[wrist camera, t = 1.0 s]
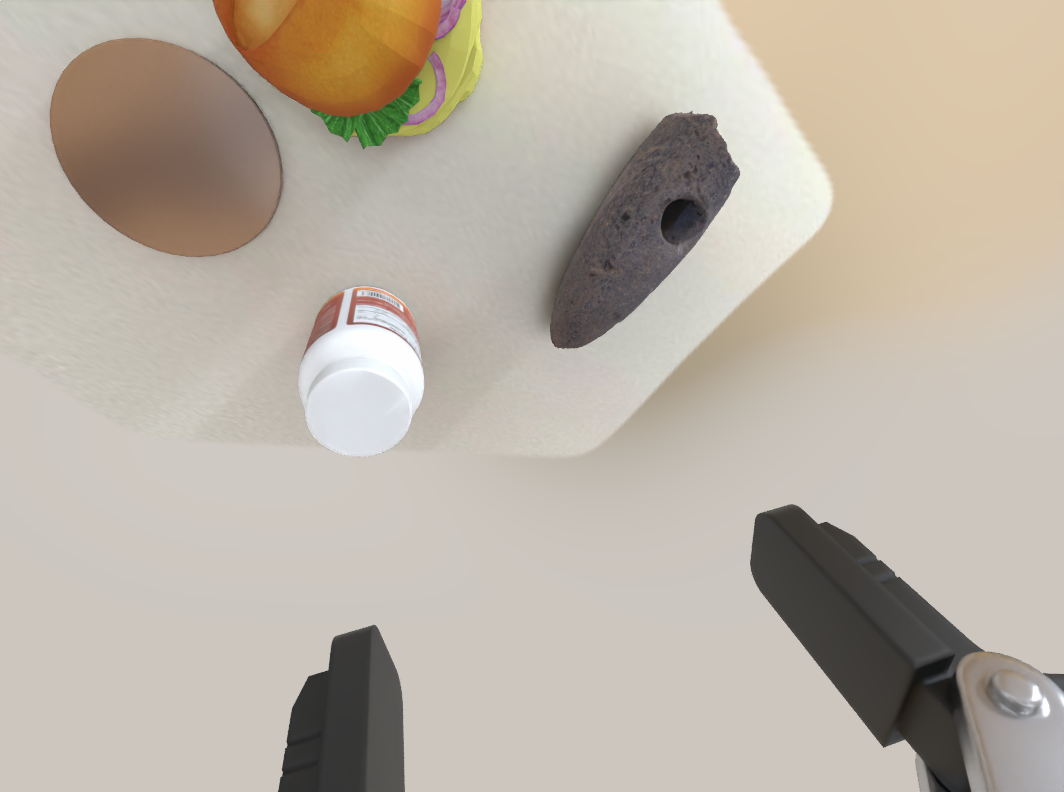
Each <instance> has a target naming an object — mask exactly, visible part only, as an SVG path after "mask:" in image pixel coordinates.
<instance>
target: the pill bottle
mask: <svg viewBox="0 0 1064 792" xmlns="http://www.w3.org/2000/svg"><path fill="white" fill-rule="evenodd" d="M298 388H299V394H300V397H301V400H302V402H303V405H304V407H305V417H306V422H307V425H308V428H309V430H310V431H311V433H312V435H313V436H314V437H315V439H316V440H317V441H318V442H319V443H321V444H322V445H323V446H324V447H326V448H327V449H329V450H331V451H333V452H336V453H338V454H341V455H346V456H352V457H366V456H372V455H377V454H380V453H383V452H385V451H387V450H389V449H390V448H392V447H393V446H395V445H396V444H397V443H398V442H399V441H400V440H401V439H402V438H403V437H404V435H405V434H406V432H407V431H408V428H409V426H410V423H411V418H412V416H413V414H414V413H415V412H416V410H417V408H418V407H419V404H420V402H421V399H422V396H423V391H424V373H423V367H422V360H421V354H420V347H419V340H418V333H417V328H416V324H415V321H414V318H413V316H412V314H411V312H410V311H409V309H408V308H407V307H406V305H405V304H404V303H403V302H402V301H401V300H400V299H398V298H397V297H396V296H394V295H393V294H391V293H389V292H387V291H385V290H382V289H379V288H375V287H369V286H359V287H353V288H349V289H346V290H343V291H341V292H339V293H337V294H336V295H334V296H333V297H331V298H330V299H329V300H328V301H327V302H326V303H325V304H324V306H323V307H322V309H321V310H320V312H319V314H318V316H317V318H316V321H315V324H314V327H313V330H312V333H311V336H310V338H309V341H308V344H307V347H306V350H305V353H304V356H303V358H302V361H301V365H300V369H299V374H298Z"/></svg>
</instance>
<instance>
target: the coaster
mask: <svg viewBox="0 0 1064 792" xmlns="http://www.w3.org/2000/svg"><path fill="white" fill-rule="evenodd" d="M50 128H51V134H52V140H53V144H54V147H55V151H56V154H57V157H58V159H59V161H60V164H61V166H62V168H63V170H64V172H65V174H66V176H67V177H68V179H69V181H70V183H71V184H72V186H73V187H74V188H75V190H76V191H77V192H78V194H79V195H80V197H81V198H82V199H83V200H84V201H85V202H86V203H87V205H88V206H89V207H90V208H91V209H92V210H93V211H94V212H95V213H96V214H97V215H99V216H100V217H101V218H102V219H103V220H104V221H105V222H107V223H108V224H109V225H111V226H112V227H113V228H115V229H116V230H117V231H119V232H121V233H122V234H124V235H126V236H127V237H129V238H130V239H132V240H134V241H136V242H139V243H141V244H143V245H145V246H147V247H150V248H153V249H156V250H158V251H162V252H166V253H170V254H174V255H181V256H190V257H204V256H214V255H219V254H223V253H227V252H230V251H232V250H235V249H237V248H239V247H241V246H243V245H245V244H247V243H248V242H249V241H251V240H252V239H253V238H255V237H256V236H257V235H258V234H259V233H260V232H261V231H262V230H263V229H264V228H265V227H266V225H267V224H268V222H269V221H270V219H271V218H272V216H273V214H274V212H275V210H276V208H277V204H278V201H279V198H280V193H281V186H282V168H281V160H280V155H279V151H278V147H277V144H276V141H275V138H274V136H273V133H272V130H271V129H270V127H269V125H268V123H267V121H266V119H265V117H264V115H263V114H262V112H261V111H260V109H259V108H258V106H257V105H256V103H255V102H254V101H253V100H252V98H251V97H250V96H249V95H248V93H247V92H246V91H245V90H244V89H243V88H242V87H241V86H240V85H239V84H238V83H237V82H236V81H235V80H234V79H233V78H232V77H230V76H229V75H228V74H227V73H225V72H224V71H223V70H222V69H220V68H219V67H217V66H216V65H214V64H213V63H211V62H210V61H208V60H207V59H205V58H203V57H201V56H199V55H197V54H195V53H193V52H191V51H189V50H186V49H184V48H181V47H179V46H176V45H173V44H169V43H165V42H162V41H158V40H151V39H143V38H124V39H118V40H112V41H107V42H104V43H101V44H98V45H95V46H94V47H92V48H90V49H88V50H86V51H84V52H83V53H81V54H80V55H79V56H78V57H77V58H75V59H74V60H73V61H72V62H71V63H70V64H69V65H68V67H67V68H66V69H65V70H64V71H63V73H62V75H61V77H60V78H59V80H58V82H57V84H56V87H55V90H54V93H53V96H52V102H51V108H50Z"/></svg>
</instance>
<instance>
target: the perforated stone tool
mask: <svg viewBox="0 0 1064 792" xmlns="http://www.w3.org/2000/svg"><path fill="white" fill-rule="evenodd" d="M716 128H717V120H716V118H715V117H714V116H712V115H708V114H703V115H702V114H693V113H692V111H691V112H690V113H684V114H683V113H674V114H671V115H668V116H666V117H665V118H663V120H662V121H661V122H660V123H659V124H658V125H657V126H656V128H655V129H654V130H653V131H652V133H651V134H650V135H649V136H648V137H647V138H646V140H645V141H644V142H643V143H642V145H641V146H640V147H639V149H638V150H637V151H636V153H635V154H634V155H633V157H632V158H631V159H630V161H629V162H628V164H627V165H626V166H625V168H624V169H623V171H622V172H621V174H620V175H619V177H618V178H617V180H616V182H615V183H614V185H613V186H612V188H611V189H610V191H609V192H608V194H607V196H606V197H605V199H604V200H603V202H602V204H601V206H600V207H599V209H598V211H597V213H596V214H595V216H594V218H593V220H592V221H591V223H590V225H589V227H588V229H587V231H586V233H585V235H584V237H583V238H582V240H581V243H580V245H579V247H578V249H577V251H576V253H575V255H574V257H573V259H572V261H571V263H570V265H569V267H568V269H567V271H566V273H565V276H564V278H563V280H562V283H561V285H560V288H559V291H558V294H557V297H556V300H555V304H554V308H553V312H552V317H551V324H550V332H551V340H552V343H553V344H554V346H555V347H557V348H562V349H564V348H579V347H582V346H584V345H586V344H588V343H590V342H592V341H593V340H595V339H597V338H598V337H600V336H602V335H603V334H605V333H606V332H607V331H608V330H609V329H611V328H612V327H613V326H614V325H615V324H617V323H619V322H621V321H622V320H624V319H625V318H626V317H627V316H628V315H629V314H630V313H632V312H633V311H634V310H635V309H636V308H637V307H638V306H639V305H640V304H641V303H642V302H643V301H644V299H645V298H646V297H647V296H648V295H649V294H650V293H651V292H653V291H654V290H655V289H656V288H657V287H658V286H659V284H660V283H661V282H662V281H663V280H664V279H665V278H666V277H667V276H668V275H669V274H670V273H671V272H672V271H673V269H674V268H675V267H676V266H677V265H678V264H679V263H680V262H681V260H682V259H683V258H684V257H685V256H686V255H687V254H688V252H689V251H690V250H691V249H692V248H693V247H694V246H695V244H696V243H697V242H698V240H699V239H700V238H701V236H702V235H703V233H704V232H705V230H706V229H707V228H708V226H709V224H710V223H711V222H712V220H713V219H714V217H715V216H716V215H717V213H718V212H719V210H720V209H721V208H722V206H723V205H724V203H725V202H726V200H727V199H728V197H729V195H730V193H731V190H732V188H733V186H734V184H735V183H736V181H737V179H738V178H739V176H740V171H739V168H738V167H737V166H736V165H735V163H734V162H733V161H732V158H731V156H730V154H729V153H728V152H727V145H726V142H725V141H724V139H723V138H722V136H721V135H720V134H719V133H718V131H717V129H716Z"/></svg>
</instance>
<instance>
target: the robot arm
mask: <svg viewBox="0 0 1064 792" xmlns="http://www.w3.org/2000/svg"><path fill="white" fill-rule="evenodd" d="M750 565H751V571H752V575H753V578H754V580H755V582H756V584H757V586H758V588H759V590H760V591H761V593H762V594H763V595H764V596H765V598H766V599H767V600H768V602H769V603H770V604H771V605H772V607H773V608H774V609H775V610H776V612H777V613H778V614H779V615H780V617H781V618H782V619H783V621H784V622H785V623H786V624H787V626H788V627H789V628H790V629H791V631H792V632H793V633H794V634H795V636H796V637H797V638H798V640H799V641H800V642H801V643H802V645H803V646H804V647H805V649H806V650H807V651H808V652H809V654H810V655H811V656H812V657H813V658H814V660H815V661H816V662H817V664H818V665H819V666H820V667H821V669H822V670H823V671H824V673H825V674H826V675H827V676H828V678H829V679H830V680H831V681H832V683H833V684H834V685H835V687H836V688H837V689H838V690H839V692H840V693H841V694H842V695H843V697H844V698H845V699H846V701H847V702H848V703H849V704H850V706H851V707H852V708H853V709H854V711H855V712H856V713H857V714H858V716H859V717H860V718H861V720H862V721H863V722H864V723H865V725H866V726H867V727H868V728H869V730H870V731H871V732H872V734H873V735H874V736H875V737H876V739H877V740H878V741H879V742H880V744H881V745H882V746H883V747H886V746H889V745H891V744H894V743H897V742H900V741H902V740H906V741H907V742H908V743H909V744H910V745H911V747H912V748H913V749H914V750H915V752H916V753H917V754H916V759H915V761H916V770H917V776H918V781H919V788H920V792H1064V674H1046V673H1041V672H1040V671H1038V670H1037V669H1035V668H1034V667H1032V666H1030V665H1028V664H1026V663H1024V662H1022V661H1020V660H1018V659H1015V658H1013V657H1010V656H1007V655H1004V654H1000V653H994V652H985V651H984V650H982V649H981V648H979V647H978V646H977V645H975V644H974V643H973V642H972V641H971V640H969V639H968V638H967V637H966V636H965V635H964V634H963V633H961V632H960V631H959V630H958V629H957V628H956V627H955V626H953V624H951V623H950V622H949V621H948V620H947V619H946V618H945V617H944V616H942V615H941V614H940V613H939V612H938V611H937V610H936V609H935V608H933V607H932V606H931V605H930V604H929V603H928V602H927V601H926V600H925V599H923V598H922V597H921V596H920V595H919V594H918V593H917V592H916V591H915V590H913V589H912V588H911V587H910V586H909V585H908V584H907V583H905V582H904V581H903V580H902V579H901V578H900V577H896V576H895V573H894V572H893V571H892V570H891V569H890V568H889V567H888V566H887V565H885V564H884V563H883V562H882V561H881V560H879V561H878V560H877V558H876V556H875V555H874V554H873V553H872V552H871V551H870V550H869V549H867V548H866V547H865V546H864V545H863V544H862V543H861V542H860V541H858V539H856V538H855V537H854V536H852V535H850V534H849V533H847V532H845V531H843V530H841V529H839V528H837V527H835V526H833V525H831V524H829V523H827V522H824V523H821V524H817V523H816V522H815V521H814V520H813V519H812V518H811V517H810V516H809V515H808V514H807V513H806V512H805V511H804V510H802V509H801V508H800V507H798V506H796V505H793V504H791V505H787V506H784V507H780V508H777V509H773V510H770V511H767V512H763V513H760V514H758V515H757V516H756V519H755V526H754V535H753V543H752V553H751V561H750ZM287 745H288V746H287V748H286V749H285V754H284V761H283V767H282V771H283V775H282V777H281V778H280V785H279V790H278V792H405V786H404V740H403V701H402V691H401V686H400V681H399V676H398V673H397V670H396V668H395V665H394V663H393V661H392V659H391V657H390V654H389V652H388V650H387V648H386V645H385V643H384V641H383V638H382V636H381V634H380V632H379V630H378V628H377V626H376V625H372V626H369V627H366V628H362V629H359V630H355V631H352V632H348V633H345V634H341V635H338V636H335V637H334V639H333V641H332V646H331V653H330V662H329V670H328V671H325V672H321V673H318V674H315V675H312V676H309V677H308V679H307V681H306V683H305V685H304V687H303V688H302V690H301V692H300V694H299V696H298V698H297V700H296V702H295V704H294V706H293V708H292V713H291V718H290V724H289V730H288V737H287Z"/></svg>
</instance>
